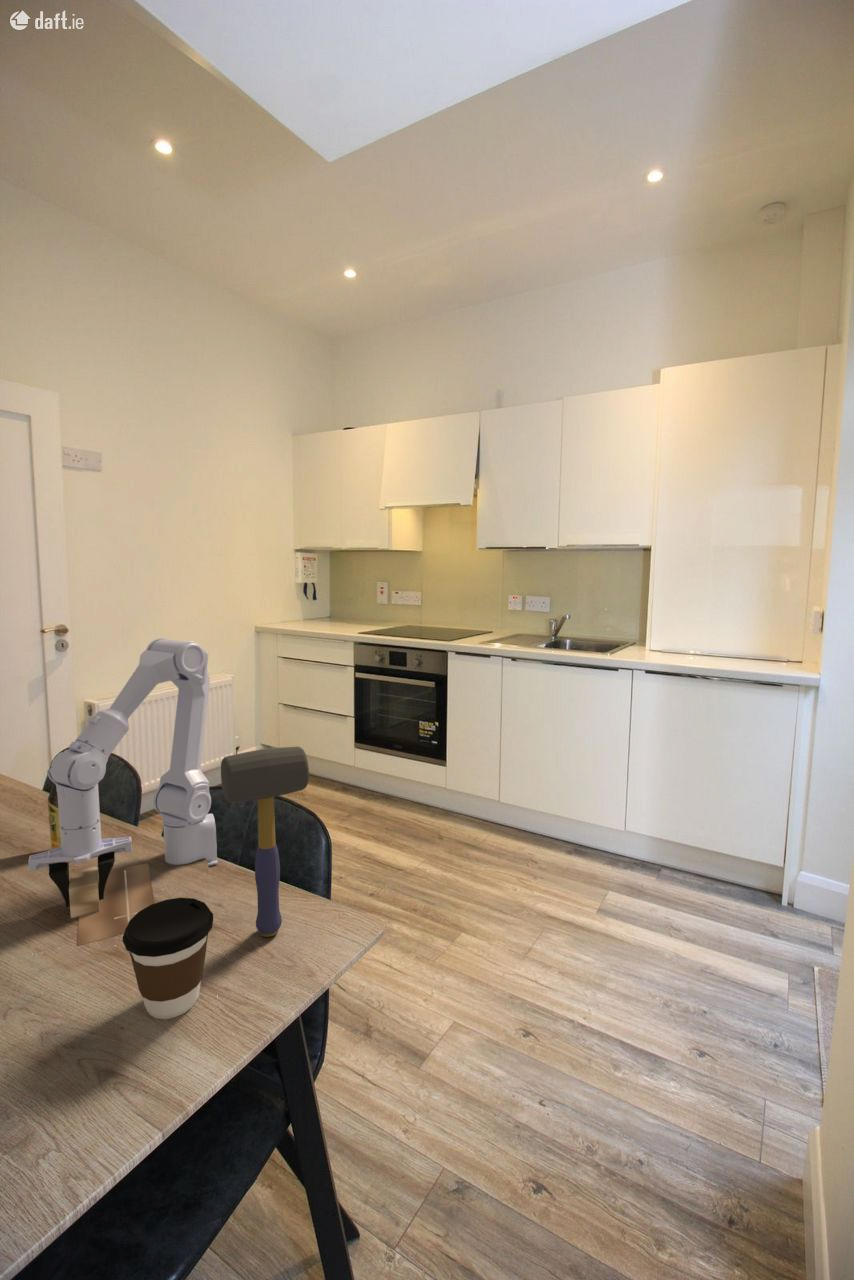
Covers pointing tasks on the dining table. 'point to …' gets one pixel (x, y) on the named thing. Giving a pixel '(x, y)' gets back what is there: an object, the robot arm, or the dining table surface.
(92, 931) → the walnut board
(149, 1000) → the coffee cup
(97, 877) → the light wooden block
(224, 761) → the rubber mallet
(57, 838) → the sauce bottle
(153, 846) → the dining table surface
